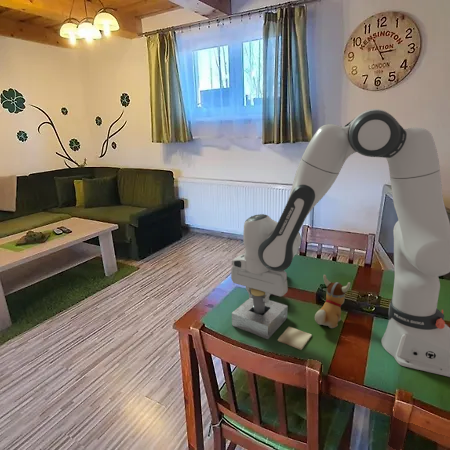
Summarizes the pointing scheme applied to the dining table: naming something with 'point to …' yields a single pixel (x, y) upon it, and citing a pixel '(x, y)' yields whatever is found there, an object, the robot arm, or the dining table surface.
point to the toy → (332, 304)
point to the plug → (258, 301)
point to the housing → (259, 318)
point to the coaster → (294, 338)
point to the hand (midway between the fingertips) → (258, 299)
